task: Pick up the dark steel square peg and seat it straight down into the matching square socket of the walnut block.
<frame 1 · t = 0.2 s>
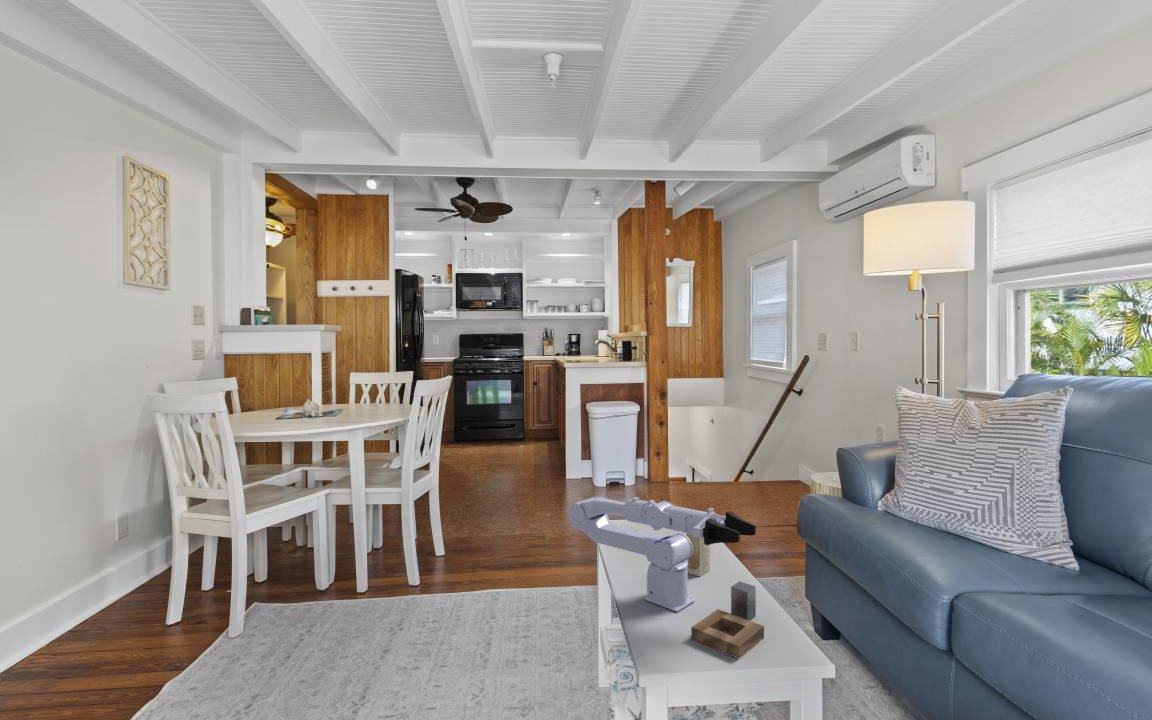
hand: (747, 533, 119), 21 cm above the table, tool horizontal, fingers open, 7 cm apart
socket block: (727, 638, 116), on the table
skincare box: (698, 572, 151), on the table
peg: (743, 616, 126), on the table
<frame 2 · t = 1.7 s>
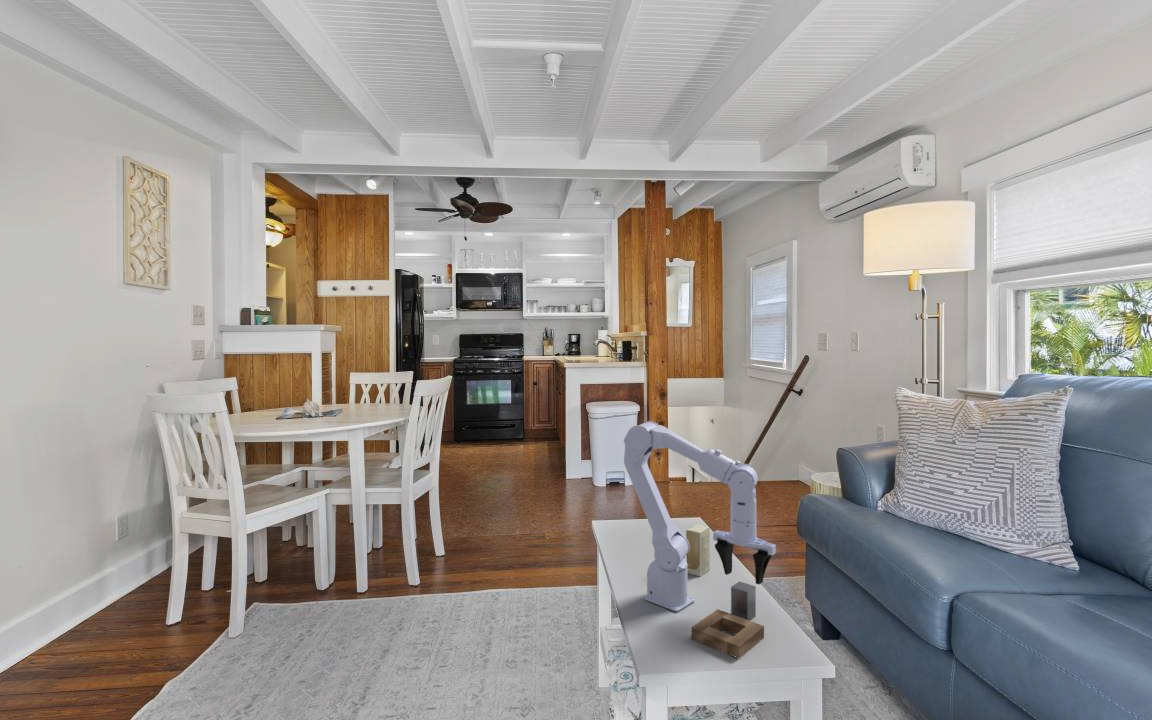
hand: (743, 577, 125), 9 cm above the table, tool pointing down, fingers open, 7 cm apart
nothing on the table moved.
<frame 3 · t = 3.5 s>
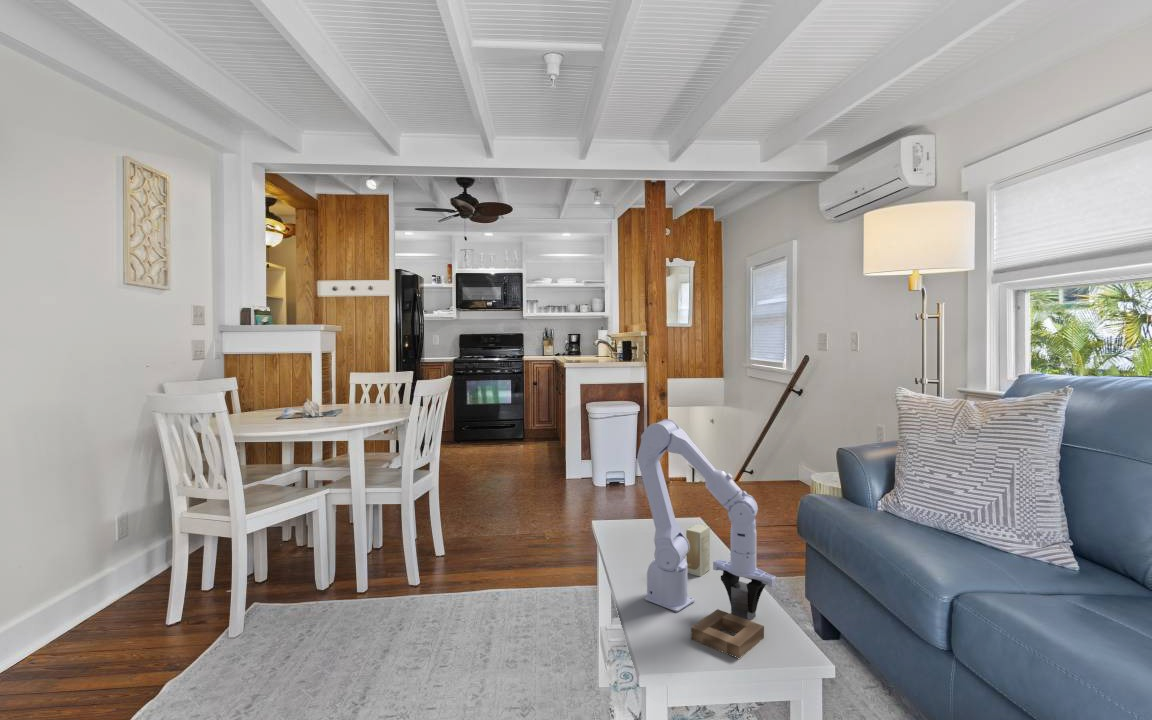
hand: (743, 608, 126), 2 cm above the table, tool pointing down, fingers closed on peg, 4 cm apart
peg: (743, 616, 126), on the table, touching gripper
everything else where it was.
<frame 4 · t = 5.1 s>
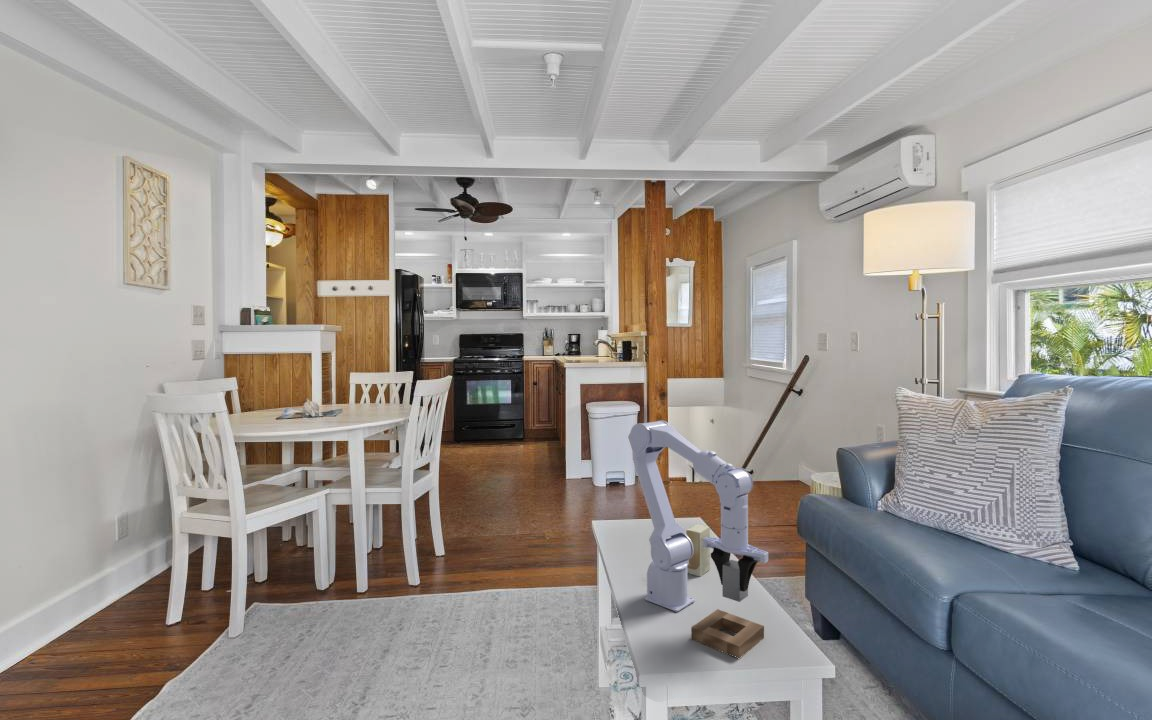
hand: (734, 586, 120), 9 cm above the table, tool pointing down, fingers closed on peg, 4 cm apart
peg: (735, 596, 120), point 7 cm above the table, touching gripper
everything else where it was.
when the fingers open (4 cm above the table, at t = 7.2 s): peg drops 1 cm, resting in socket block.
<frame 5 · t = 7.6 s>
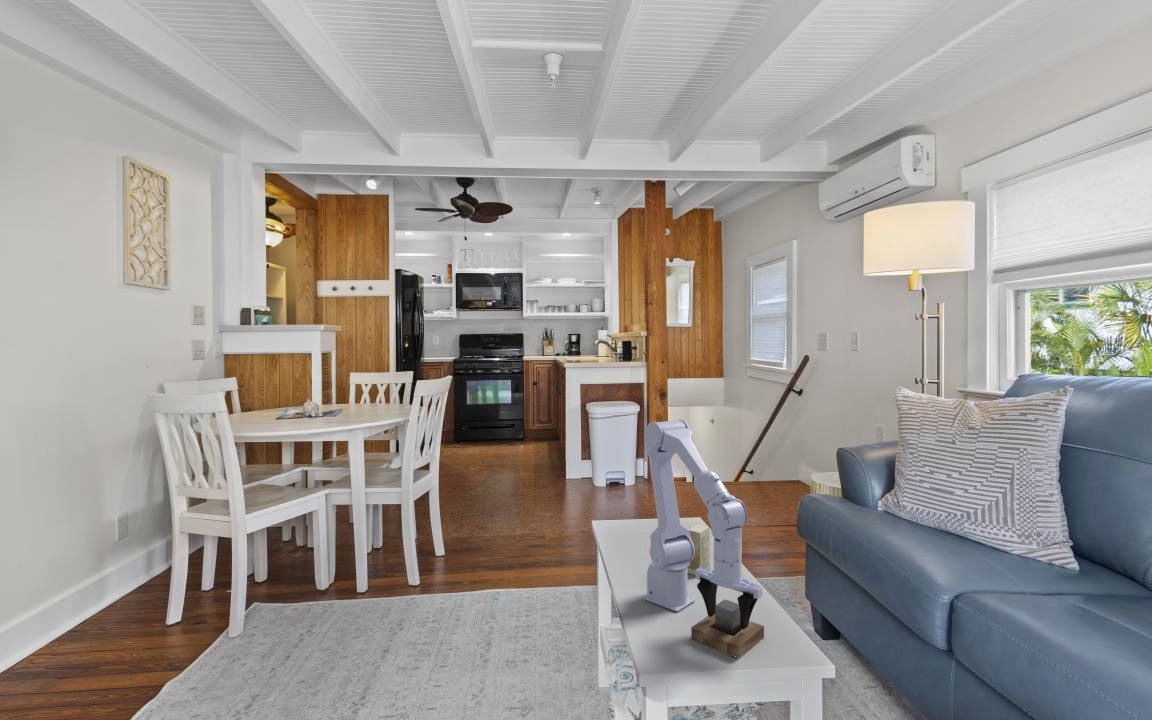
hand: (727, 621, 116), 4 cm above the table, tool pointing down, fingers open, 7 cm apart
peg: (728, 637, 117), resting in socket block
everything else where it was.
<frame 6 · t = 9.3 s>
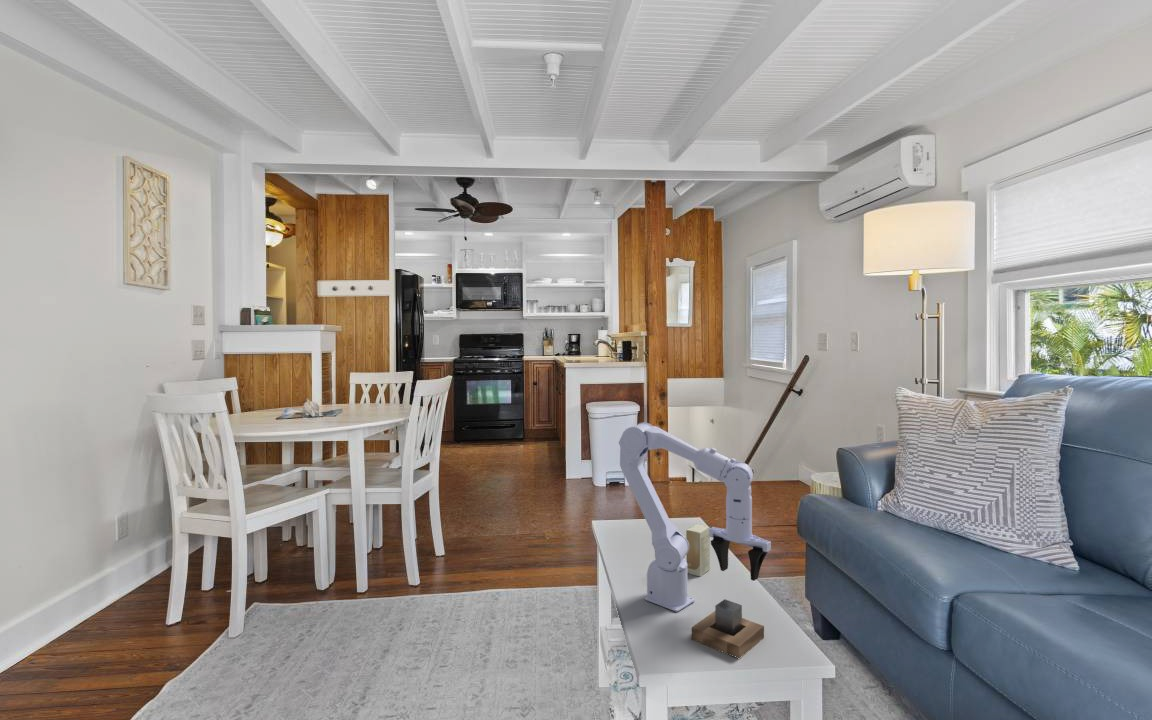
hand: (739, 574, 126), 9 cm above the table, tool pointing down, fingers open, 7 cm apart
nothing on the table moved.
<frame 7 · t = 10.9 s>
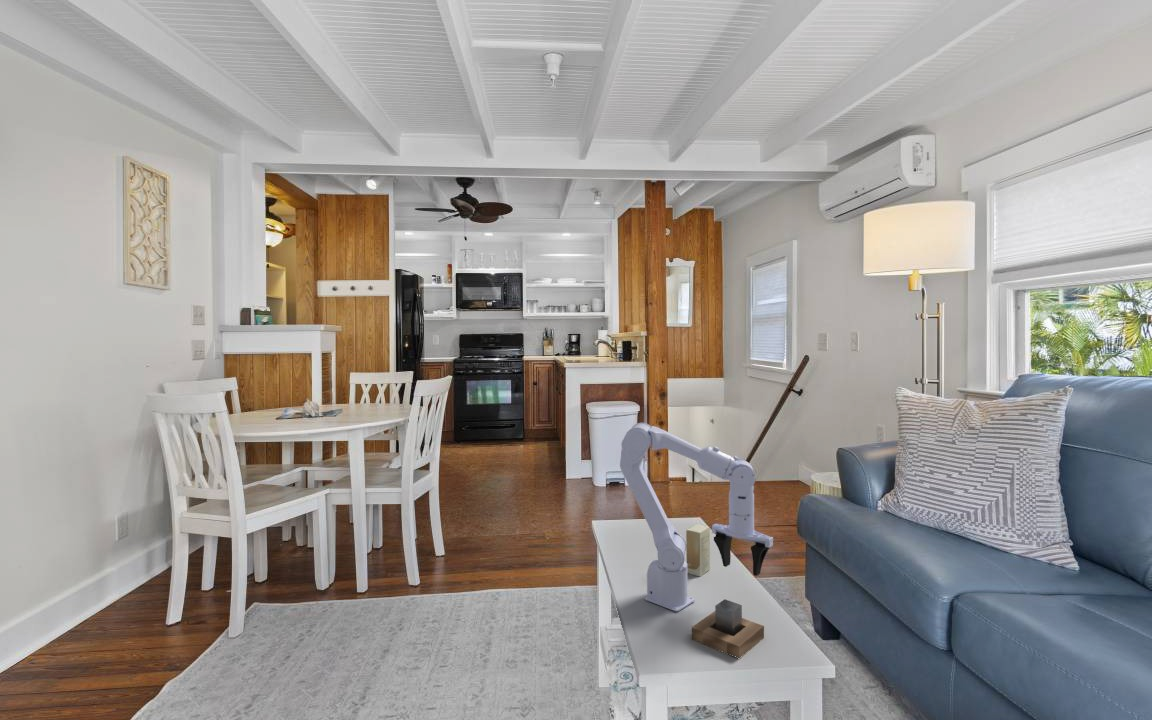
hand: (741, 569, 129), 9 cm above the table, tool pointing down, fingers open, 7 cm apart
nothing on the table moved.
at the end: peg 0.4 cm off-centre on the socket block, point 0.0 cm above the socket block's base; peg tilted 0°; the gripper is holding nothing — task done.
